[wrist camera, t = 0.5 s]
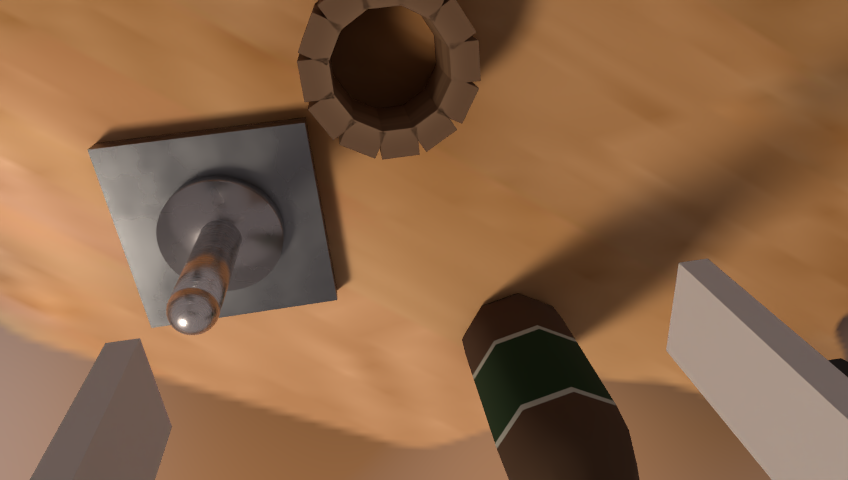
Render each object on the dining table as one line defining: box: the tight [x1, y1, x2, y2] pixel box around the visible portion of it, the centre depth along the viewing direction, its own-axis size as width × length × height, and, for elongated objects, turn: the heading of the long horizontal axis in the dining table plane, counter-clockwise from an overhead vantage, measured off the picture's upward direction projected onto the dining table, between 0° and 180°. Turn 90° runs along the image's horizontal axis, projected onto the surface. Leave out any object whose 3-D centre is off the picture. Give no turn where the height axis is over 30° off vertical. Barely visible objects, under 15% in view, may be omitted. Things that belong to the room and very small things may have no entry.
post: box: [88, 117, 337, 335], centre depth 32 cm, size 12×12×11 cm
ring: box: [297, 0, 481, 160], centre depth 32 cm, size 9×9×5 cm
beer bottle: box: [462, 293, 639, 480], centre depth 33 cm, size 8×8×24 cm
